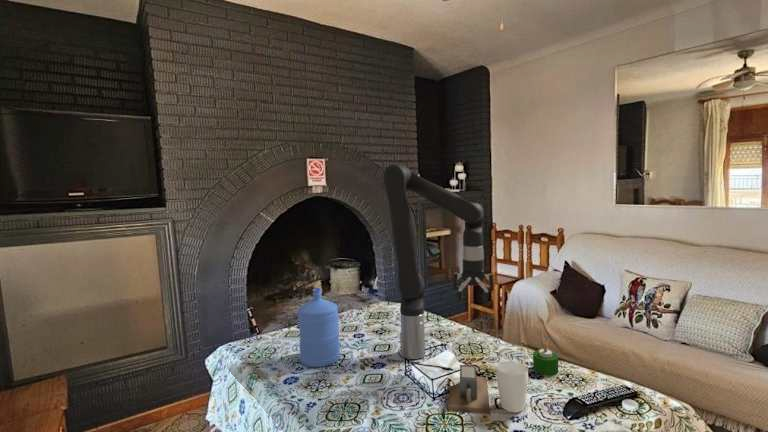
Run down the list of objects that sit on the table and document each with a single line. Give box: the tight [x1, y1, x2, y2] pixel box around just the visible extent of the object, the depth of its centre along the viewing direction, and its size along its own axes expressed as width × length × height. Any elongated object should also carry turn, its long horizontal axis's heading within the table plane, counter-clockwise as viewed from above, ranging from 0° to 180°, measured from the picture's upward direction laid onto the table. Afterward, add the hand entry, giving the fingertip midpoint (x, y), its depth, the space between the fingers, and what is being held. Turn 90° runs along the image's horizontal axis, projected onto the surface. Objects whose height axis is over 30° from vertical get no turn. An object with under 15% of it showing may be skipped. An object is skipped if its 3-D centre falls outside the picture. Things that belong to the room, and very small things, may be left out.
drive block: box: [459, 364, 478, 400], centre depth 123 cm, size 5×10×6 cm, turn 169°
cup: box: [496, 360, 529, 414], centre depth 115 cm, size 9×9×12 cm
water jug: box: [297, 287, 341, 368], centre depth 151 cm, size 16×16×28 cm
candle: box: [532, 342, 559, 377], centre depth 137 cm, size 8×8×10 cm
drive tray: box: [447, 376, 491, 414], centre depth 123 cm, size 12×19×5 cm, turn 168°
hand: (473, 301), depth 141 cm, fingers open, 8 cm apart
